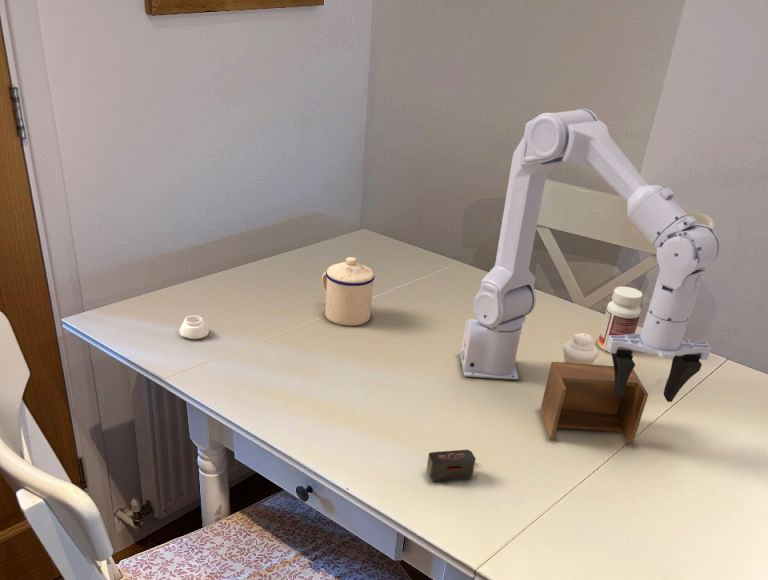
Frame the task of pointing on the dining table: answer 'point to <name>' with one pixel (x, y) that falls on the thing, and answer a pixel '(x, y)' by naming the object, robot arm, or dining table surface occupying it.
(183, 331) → the white jar
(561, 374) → the wooden crate
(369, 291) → the teacup with lid
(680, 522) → the dining table surface
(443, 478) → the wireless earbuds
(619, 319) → the pill bottle
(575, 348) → the white swirled dome
